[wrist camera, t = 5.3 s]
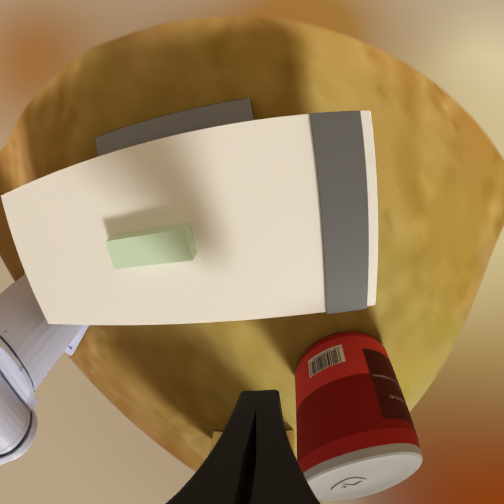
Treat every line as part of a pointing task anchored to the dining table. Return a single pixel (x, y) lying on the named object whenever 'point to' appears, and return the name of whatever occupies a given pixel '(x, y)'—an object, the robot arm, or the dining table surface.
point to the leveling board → (207, 225)
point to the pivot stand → (175, 125)
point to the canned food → (352, 419)
